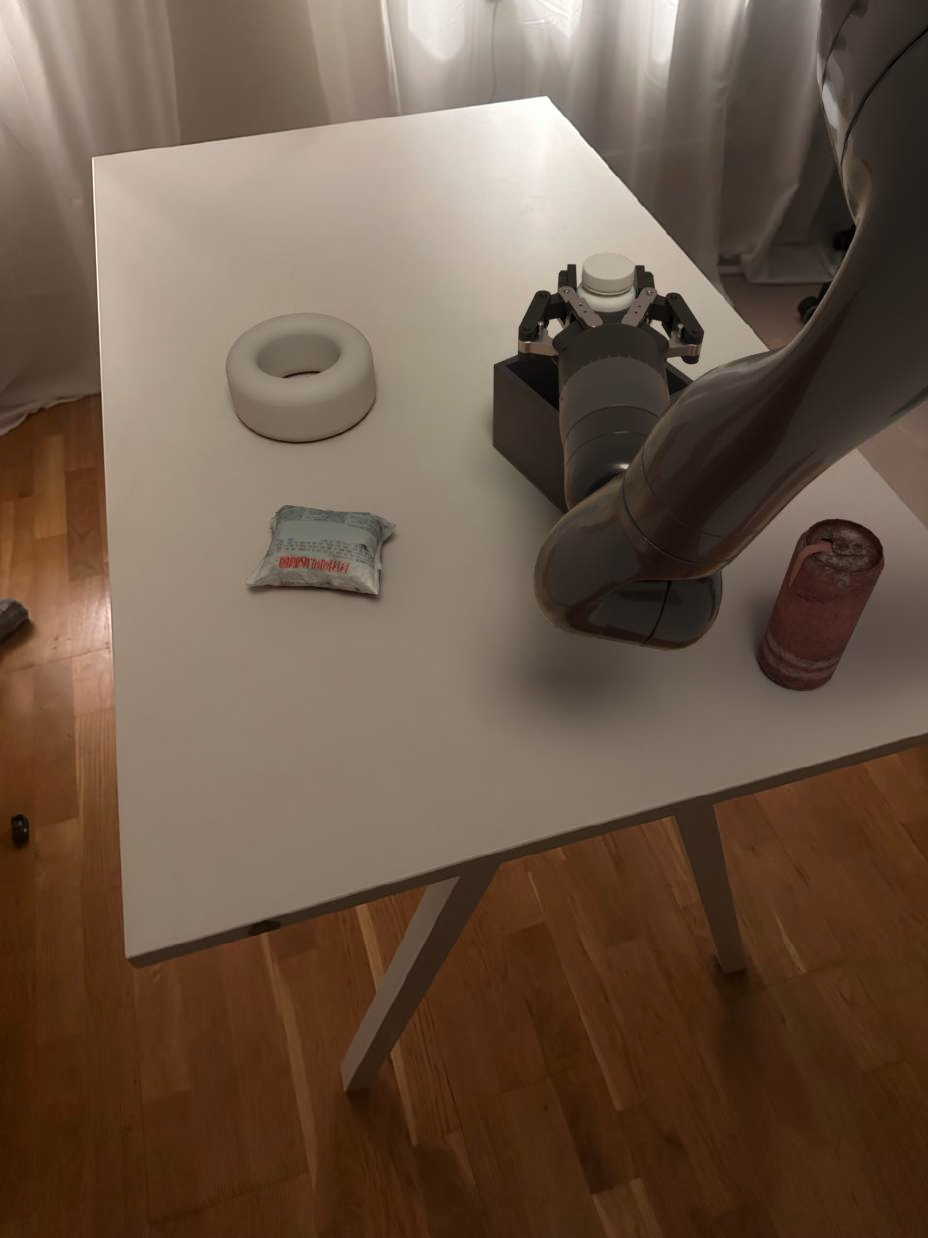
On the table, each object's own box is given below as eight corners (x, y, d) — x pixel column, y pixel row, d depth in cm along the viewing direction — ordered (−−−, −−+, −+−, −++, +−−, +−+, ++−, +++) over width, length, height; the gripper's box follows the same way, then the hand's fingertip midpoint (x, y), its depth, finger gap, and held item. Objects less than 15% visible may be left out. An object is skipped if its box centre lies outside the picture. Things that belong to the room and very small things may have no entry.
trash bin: (598, 398, 101) (607, 316, 94) (685, 469, 94) (702, 386, 86) (492, 446, 97) (493, 364, 89) (575, 524, 89) (583, 442, 82)
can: (739, 647, 80) (780, 527, 69) (805, 626, 81) (855, 505, 70) (780, 703, 76) (829, 586, 65) (848, 680, 77) (907, 561, 67)
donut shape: (207, 424, 100) (192, 370, 94) (283, 346, 108) (273, 293, 103) (332, 463, 95) (323, 408, 90) (401, 379, 104) (397, 325, 99)
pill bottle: (633, 372, 78) (647, 278, 72) (577, 378, 78) (585, 283, 71) (619, 339, 81) (631, 246, 75) (564, 344, 81) (572, 251, 74)
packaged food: (380, 611, 83) (375, 572, 79) (248, 599, 84) (237, 560, 80) (398, 541, 88) (395, 501, 85) (274, 530, 89) (265, 490, 86)
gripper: (730, 361, 63) (702, 230, 74) (510, 357, 63) (515, 228, 74) (709, 451, 68) (686, 317, 79) (508, 446, 69) (513, 314, 80)
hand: (604, 275), depth 77 cm, fingers closed on pill bottle, 4 cm apart
